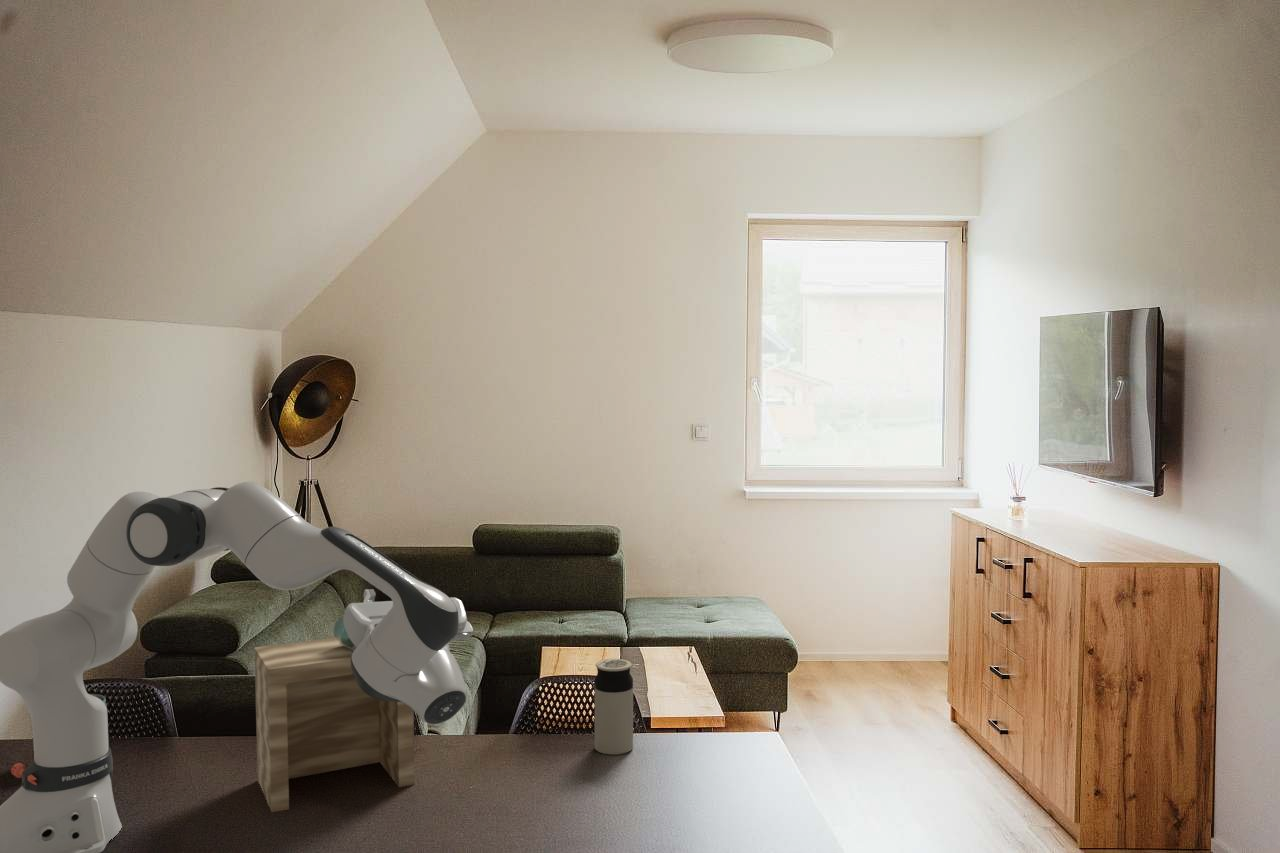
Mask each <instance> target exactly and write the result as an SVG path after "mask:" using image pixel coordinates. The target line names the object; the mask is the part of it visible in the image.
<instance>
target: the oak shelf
mask: <svg viewBox="0 0 1280 853" xmlns="http://www.w3.org/2000/svg"><path fill="white" fill-rule="evenodd" d="M353 652H354V651H352V650H350V649H348V648H346V647H344V646H342V645H340V642H339V641H338V640H337V639H336V638H335V637H328V638H321V639H312V640H311V639H310V640H306V641H305V640H304V641H296V642H289V643H288V642H287V643H281V644H273V645H265V646H257V647H254V673H255V674H254V676H255V677H254V679H255V680H254V681H255V682H254V683H255V723H256V724H255V726H256V727H255V728H256V763H257V764H256V765H257V782H258V785H259V784H260V785H259V787H260V786H261V787H260V789H261V788H262V789H261V791H263V792H262V793H264V794H263V796H264V795H265V796H264V798H265V800H267V801H266V803H267V805H268V807H270V808H269V809H270V812H271V813H275V812H282V811H286V810H289V809H290V790H289V787H290V784H289V780H290V778H291V779H296V778H301V776H302V777H307V776H311V775H319V774H322V773H323V774H324V773H328V772H329V773H330V772H333V771H339V770H345V769H349V768H350V769H351V768H356V767H361V766H367V765H372V764H377V763H380V764H381V766H382V765H383V766H382V767H383V769H385V771H386V772H387V773H389V774H388V776H390V778H391V777H392V778H391V779H392V780H393V781H395V782H394V783H395V784H396V786H397V787H398V788H402V787H408V786H414V785H415V736H414V735H415V730H414V729H415V728H414V726H415V725H414V710H413V709H412V708H410V707H409V706H408V705H406V704H404V703H403V702H392V701H382V700H378V699H375V698H373V697H371V696H369V695H367V694H366V693H365V692H364V691H363V690H362V689H361V688H360V687H359V685H358V684H357V682H356V680H355V677H354V675H353V672H352V669H351V654H352V653H353Z"/></svg>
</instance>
